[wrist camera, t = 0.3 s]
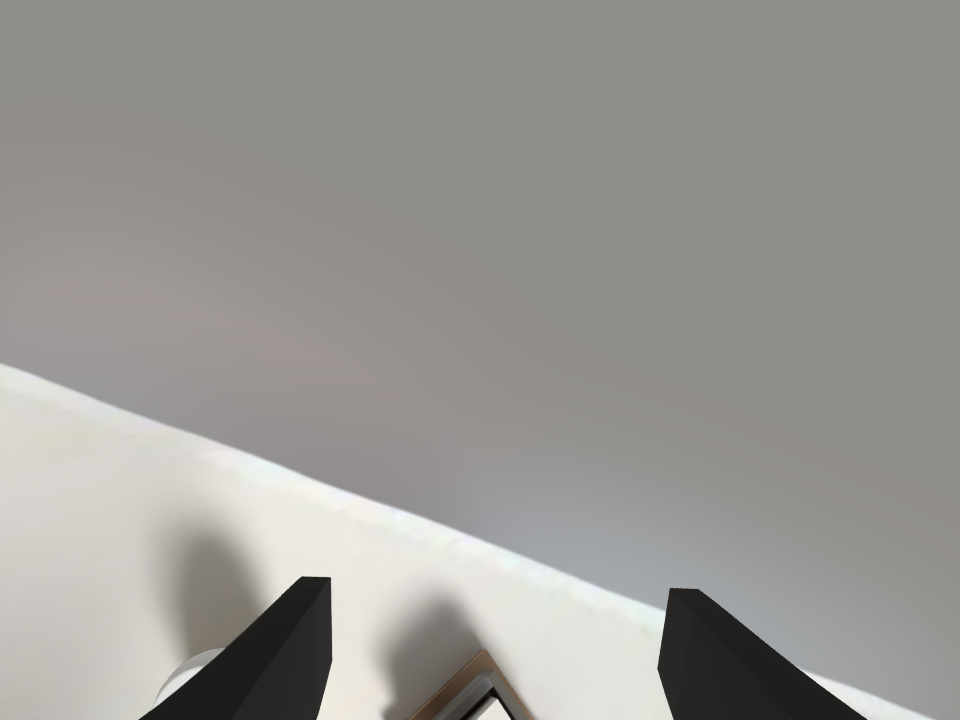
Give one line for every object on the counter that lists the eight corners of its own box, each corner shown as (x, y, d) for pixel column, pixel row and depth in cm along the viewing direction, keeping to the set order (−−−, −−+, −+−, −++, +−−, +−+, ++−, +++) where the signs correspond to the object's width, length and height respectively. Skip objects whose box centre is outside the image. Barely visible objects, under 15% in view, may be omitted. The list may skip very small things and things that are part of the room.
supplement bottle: (302, 658, 34) (273, 659, 25) (270, 760, 31) (224, 800, 22) (222, 641, 34) (165, 636, 25) (181, 741, 31) (100, 775, 22)
